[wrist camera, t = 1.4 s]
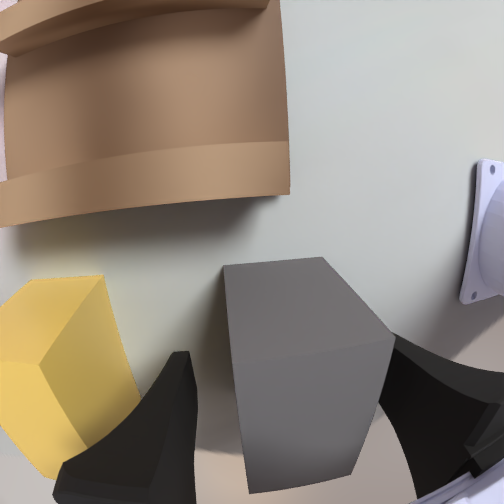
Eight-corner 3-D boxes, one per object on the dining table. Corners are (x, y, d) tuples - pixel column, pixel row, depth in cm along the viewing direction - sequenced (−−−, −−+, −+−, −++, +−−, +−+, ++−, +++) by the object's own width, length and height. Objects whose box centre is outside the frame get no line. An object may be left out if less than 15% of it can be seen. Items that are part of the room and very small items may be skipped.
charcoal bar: (223, 264, 12) (232, 363, 6) (321, 256, 12) (395, 337, 7) (236, 392, 14) (249, 493, 9) (313, 382, 15) (350, 474, 9)
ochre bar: (31, 279, 11) (-44, 352, 5) (103, 274, 12) (38, 364, 6) (76, 393, 13) (44, 476, 8) (141, 396, 14) (122, 493, 8)
